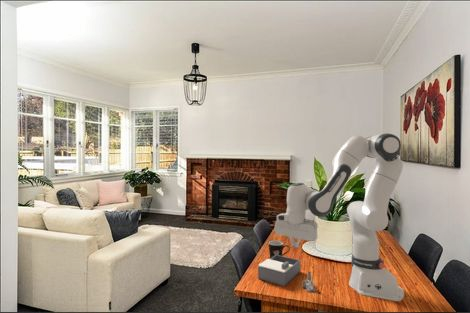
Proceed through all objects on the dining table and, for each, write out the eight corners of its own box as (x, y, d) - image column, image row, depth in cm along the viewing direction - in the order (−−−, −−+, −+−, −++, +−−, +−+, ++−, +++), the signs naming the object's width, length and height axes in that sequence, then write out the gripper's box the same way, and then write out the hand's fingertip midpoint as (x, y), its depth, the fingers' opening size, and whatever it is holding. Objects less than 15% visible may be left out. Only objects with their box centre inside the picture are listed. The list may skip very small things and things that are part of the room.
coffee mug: (266, 261, 158) (266, 244, 158) (271, 256, 166) (271, 239, 166) (285, 265, 153) (285, 247, 153) (290, 260, 161) (290, 242, 161)
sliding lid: (292, 265, 136) (292, 260, 136) (284, 273, 128) (284, 267, 128) (267, 259, 144) (267, 254, 144) (258, 266, 136) (258, 261, 136)
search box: (300, 271, 145) (300, 260, 145) (284, 286, 128) (284, 273, 128) (276, 265, 153) (276, 254, 153) (258, 278, 136) (258, 266, 136)
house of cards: (294, 282, 133) (294, 266, 133) (312, 283, 132) (313, 267, 132) (295, 291, 125) (295, 274, 125) (315, 292, 123) (315, 275, 123)
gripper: (319, 219, 127) (319, 249, 127) (279, 213, 138) (278, 240, 139) (315, 222, 122) (314, 253, 122) (273, 215, 133) (272, 244, 133)
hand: (295, 246), depth 130 cm, fingers closed
